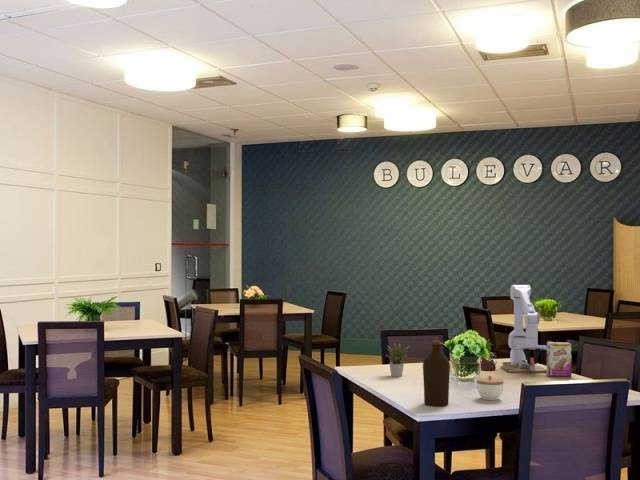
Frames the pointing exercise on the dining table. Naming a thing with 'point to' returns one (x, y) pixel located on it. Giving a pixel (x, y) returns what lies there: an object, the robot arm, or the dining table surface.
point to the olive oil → (436, 377)
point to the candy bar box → (559, 359)
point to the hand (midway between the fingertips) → (531, 363)
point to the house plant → (396, 361)
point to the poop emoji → (488, 365)
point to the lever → (528, 366)
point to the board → (511, 369)
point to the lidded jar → (489, 388)
